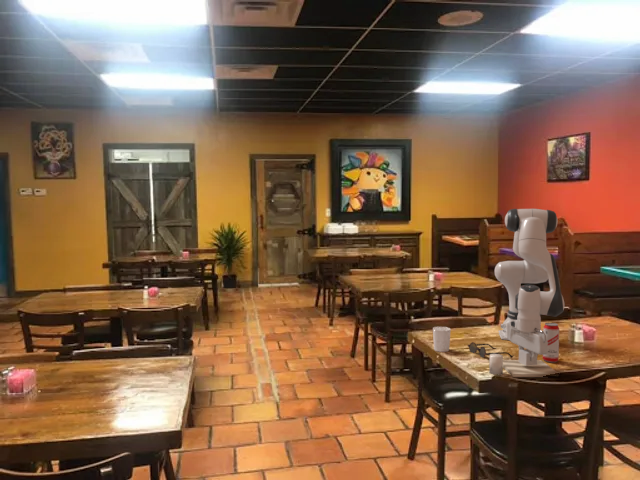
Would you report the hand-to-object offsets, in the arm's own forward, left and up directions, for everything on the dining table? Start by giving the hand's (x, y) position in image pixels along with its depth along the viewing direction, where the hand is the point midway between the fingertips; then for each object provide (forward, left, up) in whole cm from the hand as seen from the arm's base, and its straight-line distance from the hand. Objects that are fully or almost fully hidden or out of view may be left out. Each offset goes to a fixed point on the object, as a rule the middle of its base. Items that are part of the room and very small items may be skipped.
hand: (527, 359), depth 212 cm
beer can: (-12, +14, -4) cm, 19 cm away
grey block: (0, 0, -2) cm, 2 cm away
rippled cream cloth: (0, 0, -4) cm, 4 cm away
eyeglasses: (-23, -8, -5) cm, 25 cm away
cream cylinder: (+4, -14, -4) cm, 15 cm away
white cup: (-28, -29, -4) cm, 41 cm away
